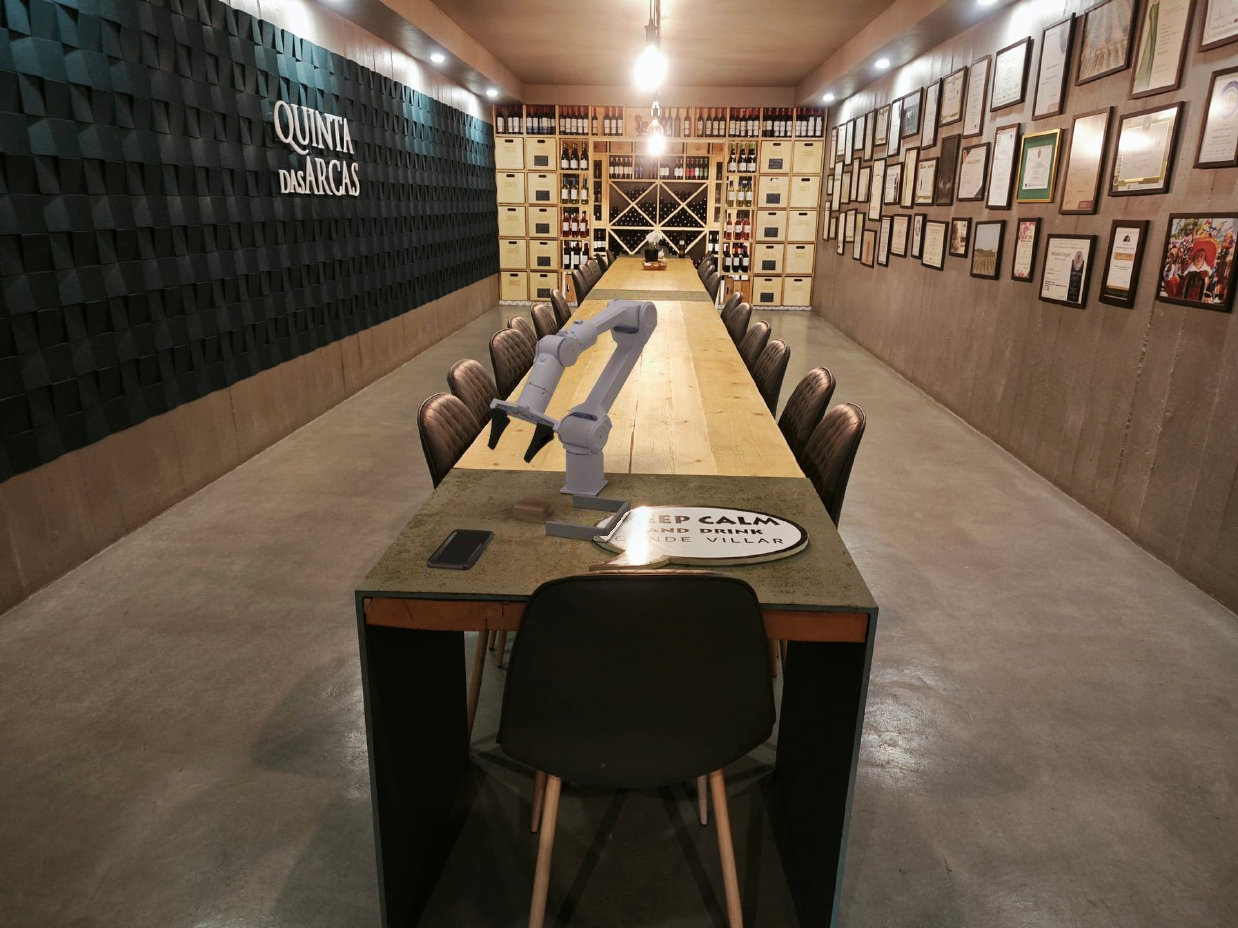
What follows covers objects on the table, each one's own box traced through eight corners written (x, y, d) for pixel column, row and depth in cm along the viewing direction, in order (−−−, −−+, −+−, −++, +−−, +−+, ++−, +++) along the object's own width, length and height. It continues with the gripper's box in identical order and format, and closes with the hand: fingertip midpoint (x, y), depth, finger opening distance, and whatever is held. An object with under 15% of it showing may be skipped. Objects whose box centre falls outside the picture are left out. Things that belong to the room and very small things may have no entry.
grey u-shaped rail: (574, 505, 159) (574, 494, 158) (630, 512, 155) (630, 500, 155) (545, 534, 144) (545, 522, 144) (606, 542, 141) (606, 530, 140)
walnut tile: (526, 510, 157) (526, 496, 156) (554, 514, 155) (554, 500, 154) (513, 521, 151) (513, 507, 150) (542, 525, 149) (542, 510, 148)
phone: (424, 563, 131) (454, 528, 145) (424, 569, 131) (455, 534, 145) (469, 566, 130) (495, 531, 144) (470, 572, 130) (496, 536, 144)
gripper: (498, 371, 148) (467, 434, 145) (567, 394, 144) (537, 460, 141) (509, 386, 155) (479, 447, 151) (575, 409, 151) (546, 472, 148)
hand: (508, 454), depth 147 cm, fingers open, 7 cm apart
